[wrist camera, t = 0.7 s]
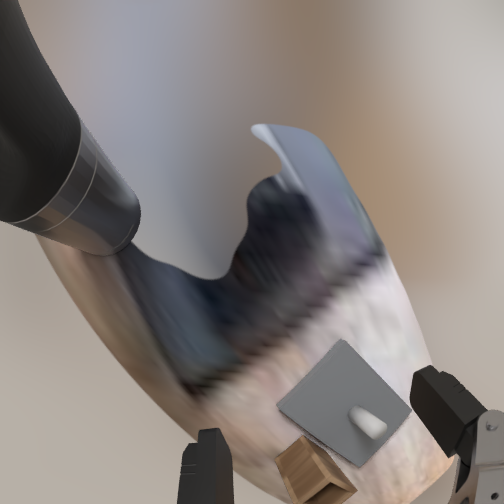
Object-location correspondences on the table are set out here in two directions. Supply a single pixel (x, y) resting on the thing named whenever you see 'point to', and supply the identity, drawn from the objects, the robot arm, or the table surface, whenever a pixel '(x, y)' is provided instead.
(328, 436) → the plate
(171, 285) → the table surface
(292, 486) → the sleeve
